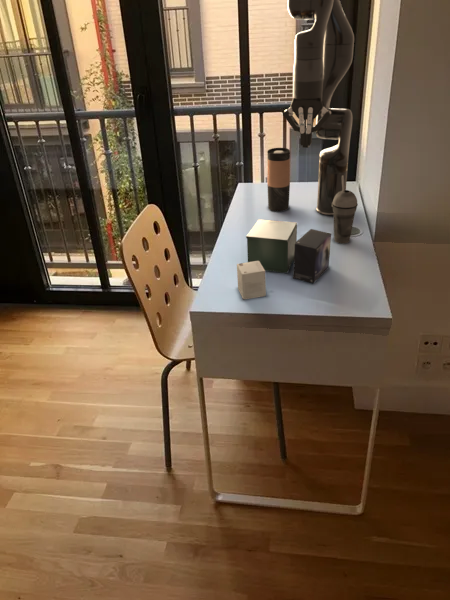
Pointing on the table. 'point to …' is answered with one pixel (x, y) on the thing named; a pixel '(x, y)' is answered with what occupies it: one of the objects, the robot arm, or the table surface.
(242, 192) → the table surface
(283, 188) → the travel mug
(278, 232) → the bin lid
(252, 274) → the white cardboard box
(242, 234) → the table surface
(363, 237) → the table surface
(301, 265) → the small box
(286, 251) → the bin
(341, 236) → the beverage cup
